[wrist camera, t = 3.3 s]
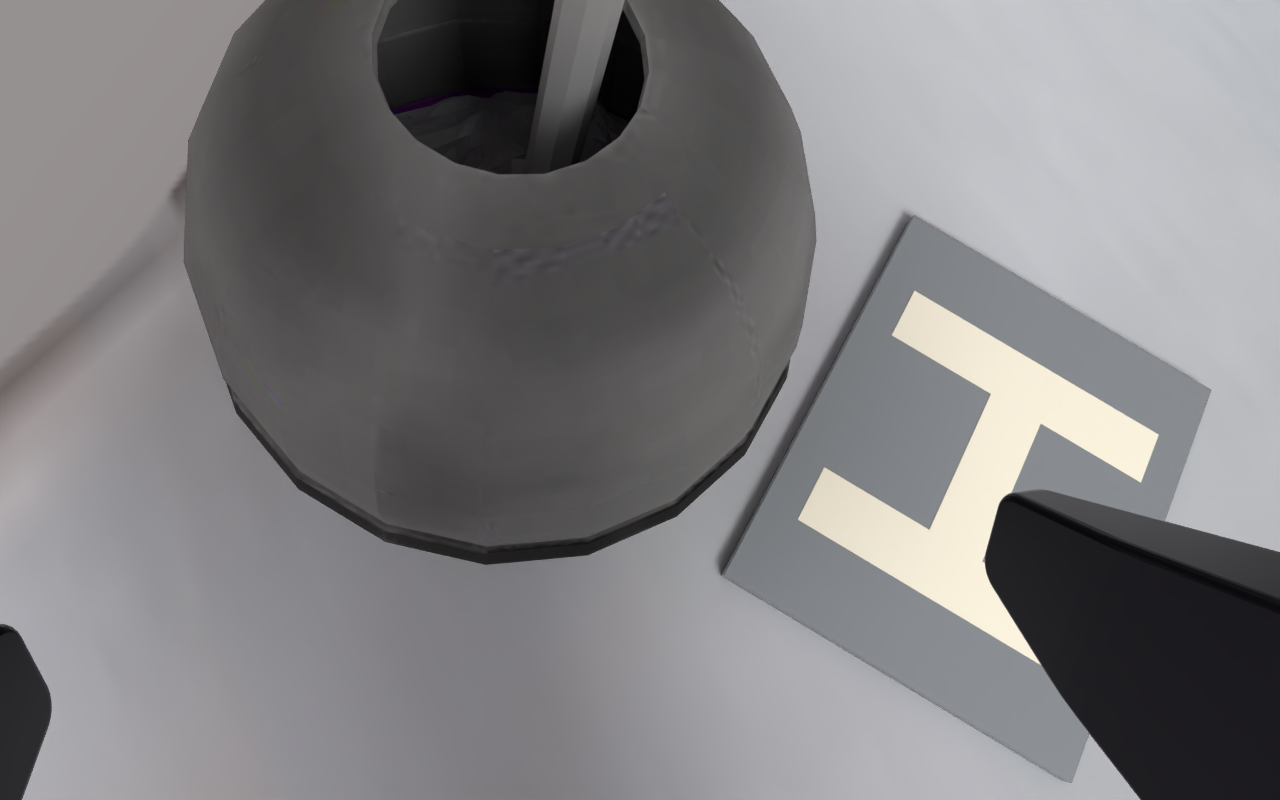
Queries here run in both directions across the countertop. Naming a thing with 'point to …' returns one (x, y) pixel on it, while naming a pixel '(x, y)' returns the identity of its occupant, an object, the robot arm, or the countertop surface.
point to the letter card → (958, 479)
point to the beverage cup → (500, 260)
